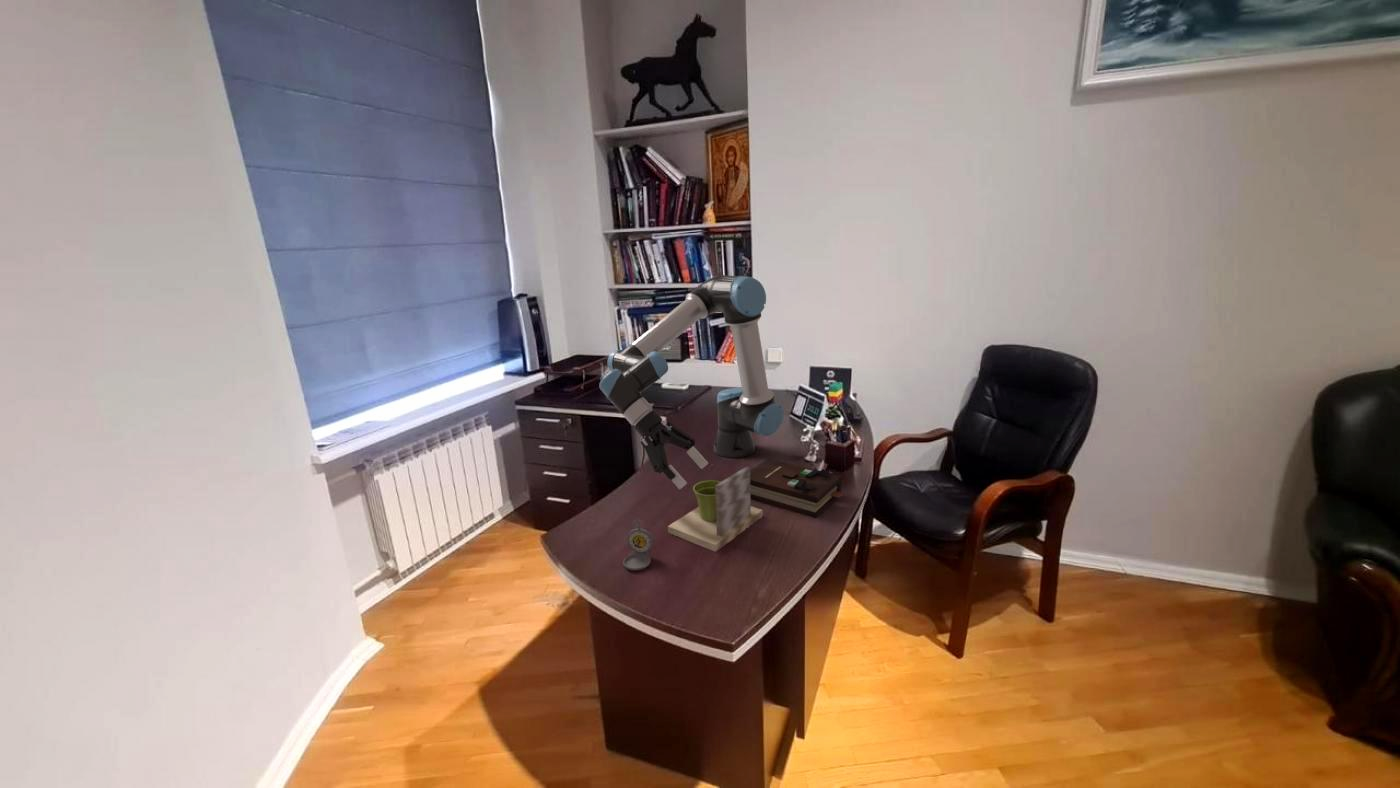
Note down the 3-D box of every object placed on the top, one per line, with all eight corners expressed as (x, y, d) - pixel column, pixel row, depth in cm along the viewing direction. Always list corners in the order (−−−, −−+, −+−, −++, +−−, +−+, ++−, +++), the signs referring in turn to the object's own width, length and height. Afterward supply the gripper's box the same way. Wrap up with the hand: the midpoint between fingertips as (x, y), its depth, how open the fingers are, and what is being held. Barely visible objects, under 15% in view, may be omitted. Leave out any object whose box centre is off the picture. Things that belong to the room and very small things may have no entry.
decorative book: (763, 453, 179) (851, 473, 161) (763, 474, 181) (850, 496, 163) (730, 474, 164) (823, 499, 146) (731, 496, 166) (822, 524, 148)
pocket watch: (628, 574, 129) (624, 537, 126) (618, 556, 136) (615, 521, 133) (660, 565, 132) (658, 529, 129) (649, 548, 139) (647, 513, 136)
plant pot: (695, 508, 155) (693, 480, 152) (728, 507, 154) (727, 479, 152) (693, 525, 146) (692, 495, 143) (729, 524, 145) (728, 494, 143)
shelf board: (717, 501, 163) (715, 451, 158) (762, 516, 153) (762, 463, 148) (668, 532, 146) (664, 478, 142) (715, 552, 137) (713, 494, 132)
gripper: (657, 412, 163) (705, 465, 161) (610, 441, 141) (664, 503, 139) (672, 397, 159) (721, 451, 157) (626, 424, 137) (682, 488, 136)
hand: (694, 476), depth 148 cm, fingers open, 13 cm apart
